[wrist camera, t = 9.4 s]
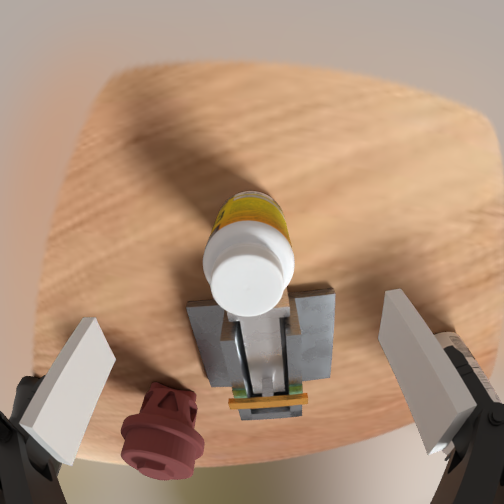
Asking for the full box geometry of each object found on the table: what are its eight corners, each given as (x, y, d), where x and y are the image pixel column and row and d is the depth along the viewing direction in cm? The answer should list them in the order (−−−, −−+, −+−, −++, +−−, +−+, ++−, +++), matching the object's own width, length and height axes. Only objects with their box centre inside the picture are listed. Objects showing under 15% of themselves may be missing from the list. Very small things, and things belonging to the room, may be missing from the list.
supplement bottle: (220, 185, 24) (196, 232, 14) (289, 193, 24) (309, 246, 15) (215, 247, 26) (194, 322, 17) (278, 255, 26) (289, 332, 17)
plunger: (236, 370, 32) (232, 417, 26) (218, 288, 27) (208, 336, 21) (300, 365, 31) (307, 412, 25) (298, 281, 26) (308, 328, 21)
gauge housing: (212, 380, 34) (206, 421, 28) (188, 301, 29) (174, 344, 23) (328, 371, 33) (337, 412, 27) (333, 288, 28) (349, 329, 22)
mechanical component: (182, 421, 38) (125, 388, 35) (225, 398, 35) (162, 359, 32) (169, 492, 27) (99, 461, 24) (218, 482, 24) (134, 447, 21)
